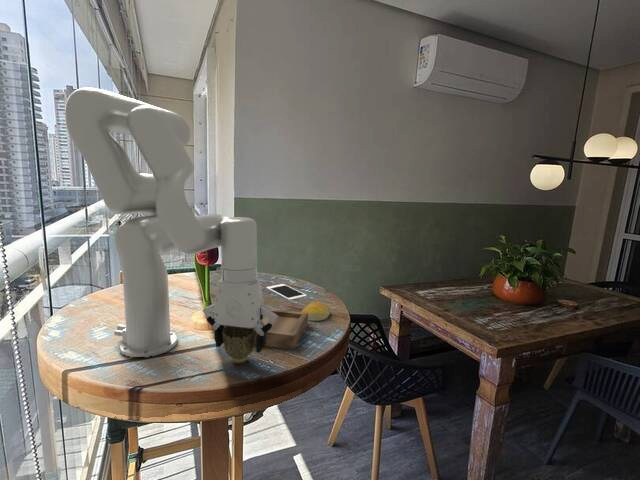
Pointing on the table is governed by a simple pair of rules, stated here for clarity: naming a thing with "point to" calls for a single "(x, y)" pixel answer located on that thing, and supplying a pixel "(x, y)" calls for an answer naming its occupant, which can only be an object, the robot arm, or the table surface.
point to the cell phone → (286, 291)
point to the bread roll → (316, 311)
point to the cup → (238, 343)
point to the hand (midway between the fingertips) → (240, 346)
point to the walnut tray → (285, 329)
